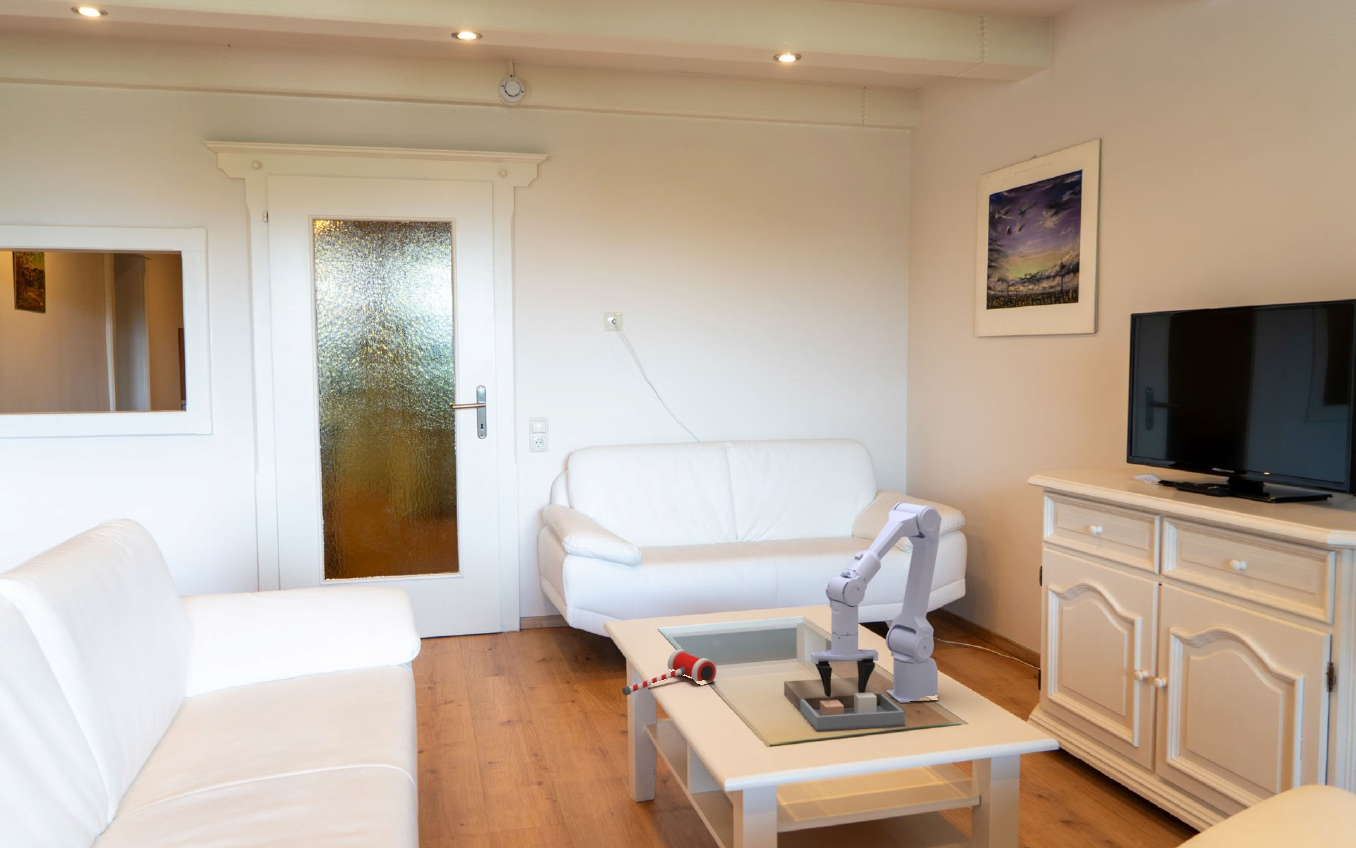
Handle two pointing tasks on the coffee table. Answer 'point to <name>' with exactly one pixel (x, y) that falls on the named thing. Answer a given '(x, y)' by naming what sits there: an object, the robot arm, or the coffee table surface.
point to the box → (855, 717)
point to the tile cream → (865, 703)
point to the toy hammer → (681, 670)
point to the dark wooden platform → (815, 692)
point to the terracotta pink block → (831, 708)
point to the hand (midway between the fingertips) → (844, 694)
